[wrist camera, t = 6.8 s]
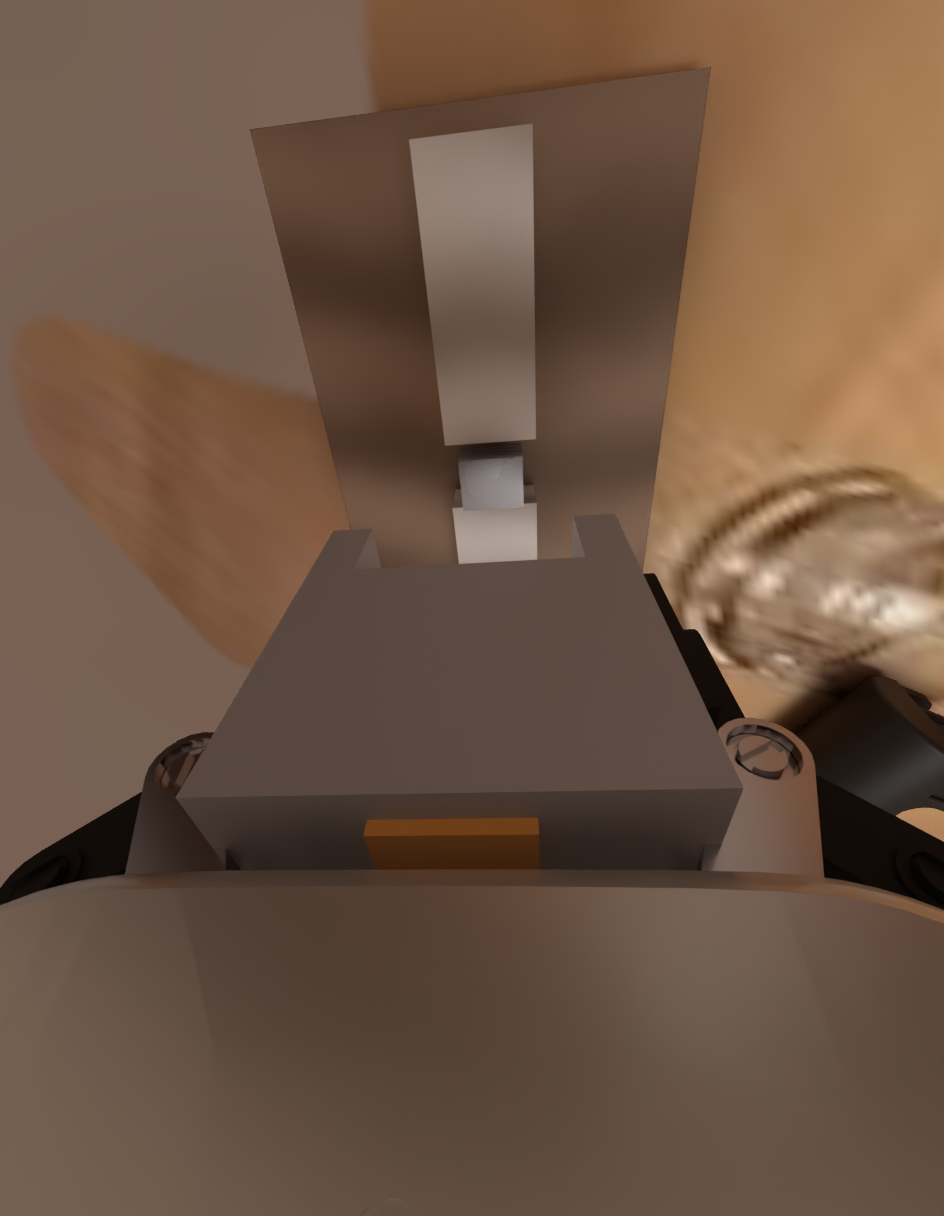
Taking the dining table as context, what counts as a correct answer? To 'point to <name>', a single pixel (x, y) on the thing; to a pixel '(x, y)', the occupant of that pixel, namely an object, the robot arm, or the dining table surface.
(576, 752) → the grey module
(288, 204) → the rail
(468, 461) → the pin
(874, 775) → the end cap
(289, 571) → the dining table surface
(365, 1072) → the robot arm
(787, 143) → the dining table surface
